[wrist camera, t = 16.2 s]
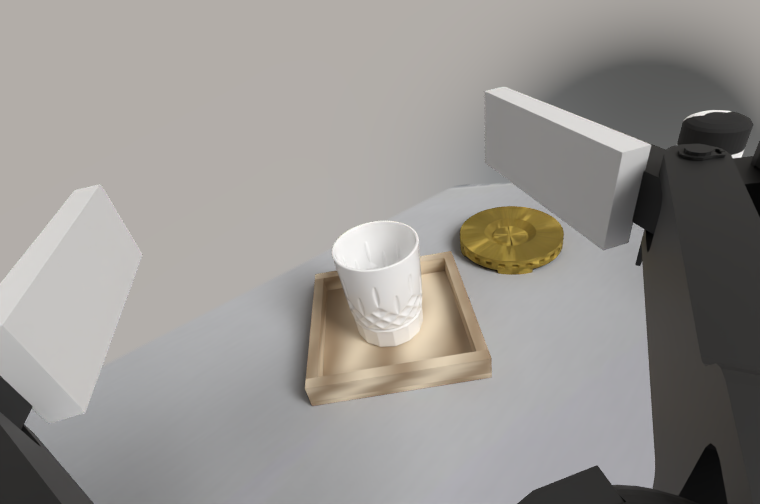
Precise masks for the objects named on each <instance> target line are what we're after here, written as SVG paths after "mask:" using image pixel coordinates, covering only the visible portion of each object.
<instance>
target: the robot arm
mask: <svg viewBox="0 0 760 504" xmlns="http://www.w3.org/2000/svg"><path fill="white" fill-rule="evenodd" d="M485 163H486V164H487V165H489V166H490V167H491V168H493V169H494V170H495V171H497V172H498V173H500V174H501V175H502V176H503V177H505V178H506V179H508V180H509V181H510V182H512V183H513V184H514V185H516V186H517V187H518V188H520V189H521V190H522V191H524V192H525V193H526V194H528V195H529V196H531V197H532V198H533V199H535V200H536V201H537V202H539V203H540V204H541V205H543V206H544V207H545V208H547V209H548V210H549V211H551V212H552V213H554V214H555V215H556V216H558V217H559V218H560V219H562V220H563V221H564V222H566V223H567V224H568V225H570V226H571V227H572V228H574V229H575V230H576V231H578V232H579V233H581V234H582V235H583V236H585V237H586V238H587V239H589V240H590V241H591V242H593V243H594V244H595V245H597V246H598V247H599V248H601V249H602V250H606V249H609V248H612V247H616V246H619V245H622V244H625V243H628V242H629V237H630V233H631V229H632V225H633V222H634V223H635V224H637V225H639V226H640V227H642V228H644V229H645V230H644V233H643V237H642V241H641V245H640V249H639V253H638V257H637V261H636V265H637V266H640V265H641V263H642V262H643V277H644V293H645V308H646V324H647V340H648V355H649V371H650V386H651V402H652V418H653V433H654V449H655V478H654V484H653V489H651V488H645V487H639V486H628V485H611V483H610V482H609V481H608V479H607V478H606V476H605V475H604V474H603V472H602V471H601V470H600V468H599V467H598V466H594V467H592V468H589V469H587V470H584V471H581V472H579V473H576V474H574V475H571V476H569V477H566V478H564V479H561V480H559V481H556V482H554V483H551V484H549V485H546V486H544V487H541V488H538V489H536V490H533V491H532V492H531V493H530V494H528V495H527V496H526V497H525V498H524V499H522V500H521V501H520V502H519V503H518V504H760V141H759V144H758V146H757V149H756V151H755V154H754V156H751V157H741V158H732V156H731V155H730V154H729V153H728V152H727V151H725V150H723V149H721V148H718V147H714V146H709V145H705V144H681V145H676V146H672V147H670V148H668V149H667V150H665V149H662V148H660V147H657V146H655V145H652V144H650V143H647V142H645V141H642V140H640V139H637V138H633V137H632V136H629V135H627V134H623V133H622V132H619V131H616V130H614V129H611V128H609V127H605V126H603V125H600V124H598V123H595V122H593V121H590V120H588V119H585V118H583V117H580V116H577V115H575V114H573V113H570V112H567V111H565V110H562V109H560V108H557V107H555V106H552V105H550V104H547V103H545V102H542V101H540V100H537V99H535V98H532V97H530V96H527V95H525V94H522V93H519V92H517V91H514V90H512V89H509V88H507V87H500V88H496V89H492V90H487V91H485ZM142 255H143V254H142V253H141V251H140V249H139V248H138V246H137V244H136V243H135V241H134V239H133V238H132V236H131V234H130V233H129V231H128V229H127V227H126V226H125V224H124V222H123V221H122V219H121V217H120V216H119V214H118V212H117V211H116V209H115V207H114V206H113V204H112V202H111V200H110V199H109V197H108V195H107V194H106V192H105V190H104V189H103V187H102V186H101V184H98V185H94V186H90V187H86V188H82V189H78V190H75V191H74V192H73V193H72V194H71V196H70V197H69V198H68V199H67V201H66V202H65V203H64V204H63V206H62V207H61V208H60V209H59V211H58V212H57V213H56V214H55V216H54V217H53V218H52V219H51V221H50V222H49V223H48V225H47V226H46V227H45V228H44V229H43V231H42V232H41V233H40V234H39V236H38V237H37V238H36V239H35V241H34V242H33V243H32V244H31V246H30V247H29V248H28V250H27V251H26V252H25V253H24V255H23V256H22V257H21V258H20V259H19V261H18V262H17V263H16V264H15V266H14V267H13V268H12V269H11V271H10V272H9V273H8V275H7V276H6V277H5V278H4V280H3V281H2V282H1V283H0V504H94V503H93V502H92V501H91V500H90V499H89V497H88V496H87V495H86V494H85V493H84V492H83V490H82V489H81V488H80V487H79V486H78V484H77V483H76V482H75V481H74V480H73V479H72V477H71V476H70V475H69V474H68V473H67V472H66V470H65V469H64V468H63V467H62V466H61V464H60V463H59V462H58V461H57V460H56V459H55V457H54V456H53V455H52V454H51V453H50V452H49V450H48V449H47V448H46V447H45V446H44V444H43V443H42V442H41V441H40V440H39V439H38V437H37V436H36V435H35V434H34V433H33V432H32V431H31V430H30V429H29V428H27V427H26V426H25V425H24V423H25V421H26V419H27V417H28V415H29V413H30V411H31V408H32V409H33V410H34V411H35V412H36V413H37V414H39V415H40V416H41V417H42V418H43V419H44V420H45V421H46V422H47V423H48V424H51V423H54V422H58V421H61V420H64V419H67V418H70V417H74V416H77V415H80V414H83V413H86V410H87V407H88V405H89V402H90V399H91V396H92V393H93V391H94V388H95V385H96V382H97V380H98V377H99V374H100V371H101V369H102V366H103V363H104V360H105V357H106V354H107V352H108V349H109V346H110V343H111V341H112V338H113V335H114V332H115V330H116V327H117V324H118V321H119V319H120V316H121V313H122V310H123V307H124V305H125V302H126V299H127V296H128V293H129V291H130V288H131V285H132V283H133V280H134V277H135V274H136V271H137V269H138V266H139V263H140V260H141V258H142Z"/></svg>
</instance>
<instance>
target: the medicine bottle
mask: <svg viewBox="0 0 760 504" xmlns="http://www.w3.org/2000/svg"><path fill="white" fill-rule="evenodd" d="M752 127H753V123H752V121H751V119H750V118H748V117H746V116H744V115H742V114H739V113H736V112H732V111H724V110H711V111H703V112H699V113H695V114H692V115H690V116H688V117H687V118H686V119H684V121H683V124H682V127H681V132H680V135H679V139H678V143H677V145H681V144H705V145H709V146H714V147H718V148H721V149H723V150H725V151H727V152H728V153H729V154H730V155H731V156H732V158H741V156H742V155H743V151H744V149H745V146H746V143H747V140H748V138H749V135H750V132H751V130H752Z"/></svg>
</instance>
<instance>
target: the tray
mask: <svg viewBox="0 0 760 504" xmlns="http://www.w3.org/2000/svg"><path fill="white" fill-rule="evenodd" d="M420 265H421V278H422V312H423V322H422V325H421V328H420V331H419V332H418V333H417V334H416V335H415V336H414V337H413V338H412V339H411V340H410V341H408V342H405V343H403V344H400V345H398V346H392V347H379V346H376V345H373V344H371V343H368V342H367V341H366V340H365V339H364V338H363V337H362V336H361V335H360V334H359V331H358V328H357V325H356V322H355V319H354V316H353V314H352V312H351V310H350V307H349V304H348V301H347V299H346V296H345V293H344V290H343V287H342V284H341V281H340V278H339V275H338V272H337V271H332V272H326V273H320V274H315V285H314V296H313V306H312V317H311V328H310V339H309V350H308V360H307V371H306V382H305V390H306V392H307V395H308V397H309V400H310V402H311V404H312V406H316V405H322V404H329V403H335V402H341V401H347V400H354V399H360V398H366V397H372V396H378V395H385V394H391V393H397V392H403V391H410V390H416V389H422V388H428V387H435V386H441V385H447V384H453V383H459V382H466V381H472V380H478V379H484V378H491V377H492V368H491V356H490V353H489V351H488V348H487V345H486V343H485V340H484V337H483V335H482V332H481V329H480V327H479V324H478V321H477V319H476V316H475V313H474V311H473V308H472V305H471V303H470V300H469V297H468V295H467V292H466V289H465V287H464V284H463V281H462V279H461V276H460V274H459V271H458V268H457V266H456V263H455V260H454V258H453V255H452V252H451V251H449V252H443V253H437V254H432V255H426V256H420Z"/></svg>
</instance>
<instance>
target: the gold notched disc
mask: <svg viewBox="0 0 760 504" xmlns="http://www.w3.org/2000/svg"><path fill="white" fill-rule="evenodd" d="M563 236H564V234H563V228H562V227H561V225H560V223H559V222H558V221H557V220H556V219H554V218H553V217H552V216H550V215H548V214H546V213H544V212H541V211H538V210H535V209H531V208H526V207H515V206H507V207H497V208H492V209H488V210H484V211H481V212H479V213H477V214H475V215H473V216H471V217H470V218H469V219H467V220H466V221H465V222H464V224H463V225H462V227H461V230H460V246H461V251H462V254H463V255H464V256H467V257H468V258H469V259H470V260H472V261H473V262H475V263H477V264H479V265H481V266H484V267H487V268H490V269H495V270H498V273H500V274H526V273H531V272H532V269H534V268H538V267H541V266H543V265H545V264H547V263H549V262H551V261H552V260H554V259H555V258H556V257H557V256H558V255H559V253H560V251H561V249H562V245H563Z"/></svg>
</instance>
